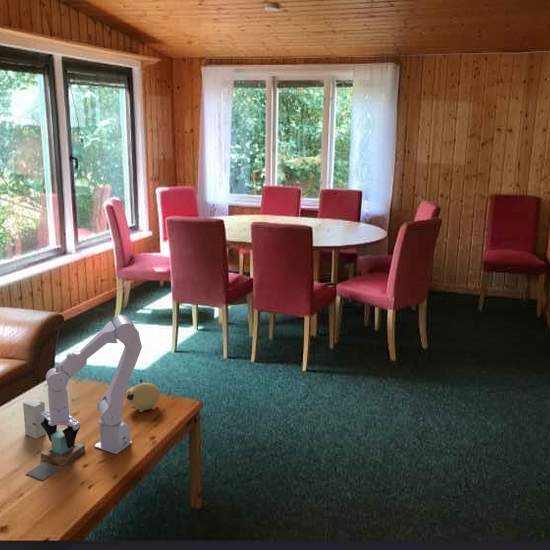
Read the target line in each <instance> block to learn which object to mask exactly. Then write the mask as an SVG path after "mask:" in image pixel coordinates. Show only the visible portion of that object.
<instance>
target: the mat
mask: <svg viewBox="0 0 550 550" xmlns="http://www.w3.org/2000/svg"><path fill="white" fill-rule="evenodd" d="M60 470H61V466H58V465H57V466H56V465H55V464H53V463H50V462H47V461H43V462H40V464H38V465H36V466H35V467H34V468H32V469H30V470H29V471H27V472H26V473H25V474H26V475H27V476H29V477H31V478H34V479H37V480H40V481H41V480H42V482H43V480H44V481H45V480H47V479H48V478H49V477H51V476H53V475H54V474H56V473H57V472H58V471H60Z"/></svg>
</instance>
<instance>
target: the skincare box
mask: <svg viewBox="0 0 550 550" xmlns="http://www.w3.org/2000/svg"><path fill="white" fill-rule="evenodd" d="M22 407H23V419H24V420H23V422H24V432H25V435H27V436H29V437H31V438H33V439H35V440H36V439H39V438H41V437H44V435H47V433H46V431H45V429H44V428H43V427H42V426H41V423H42V422H43V421H44V420H43V419H41V413H43V412H45V411H46V409H45V407H46V406H45V402H44V401H41V400H40V399H38V398H34V397H31V398H29V399H27V400H25V401H23V402H22Z"/></svg>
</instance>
